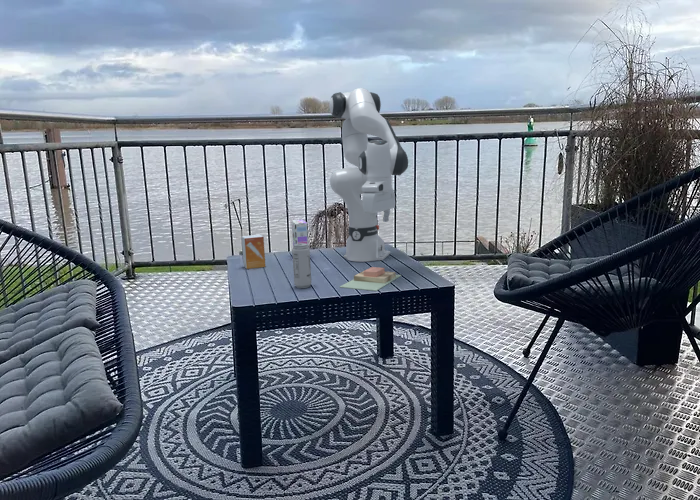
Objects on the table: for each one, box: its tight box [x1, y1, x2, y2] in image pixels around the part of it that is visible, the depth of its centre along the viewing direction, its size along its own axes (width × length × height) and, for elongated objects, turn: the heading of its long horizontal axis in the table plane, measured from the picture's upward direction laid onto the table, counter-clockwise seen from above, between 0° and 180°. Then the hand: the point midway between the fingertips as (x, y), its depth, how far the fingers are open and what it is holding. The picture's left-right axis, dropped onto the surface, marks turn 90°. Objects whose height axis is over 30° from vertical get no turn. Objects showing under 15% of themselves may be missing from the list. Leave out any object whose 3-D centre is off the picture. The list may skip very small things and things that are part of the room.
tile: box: [363, 266, 385, 277], centre depth 187 cm, size 7×5×2 cm
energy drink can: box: [291, 243, 312, 289], centre depth 181 cm, size 6×6×15 cm
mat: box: [339, 274, 402, 292], centre depth 186 cm, size 22×14×1 cm, turn 152°
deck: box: [353, 270, 397, 283], centre depth 188 cm, size 10×12×2 cm
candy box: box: [290, 219, 310, 248], centre depth 231 cm, size 14×6×16 cm, turn 12°
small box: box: [241, 234, 266, 270], centre depth 216 cm, size 8×6×13 cm
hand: (380, 223), depth 190 cm, fingers open, 8 cm apart
